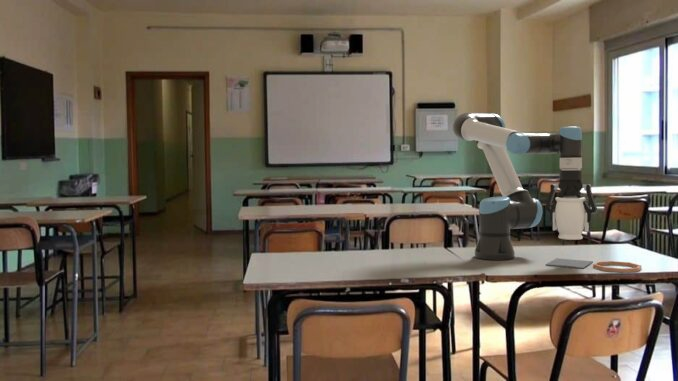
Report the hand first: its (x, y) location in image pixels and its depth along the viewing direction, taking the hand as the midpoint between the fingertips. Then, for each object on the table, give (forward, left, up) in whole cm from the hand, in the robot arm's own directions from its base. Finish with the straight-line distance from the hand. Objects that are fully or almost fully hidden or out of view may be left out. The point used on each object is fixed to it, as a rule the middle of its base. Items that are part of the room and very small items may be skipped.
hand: (570, 230), depth 224 cm
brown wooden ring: (+16, 0, -12) cm, 20 cm away
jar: (0, 0, -3) cm, 3 cm away
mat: (0, 0, -12) cm, 12 cm away
